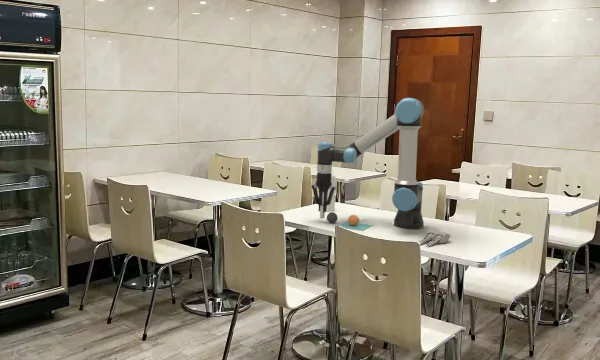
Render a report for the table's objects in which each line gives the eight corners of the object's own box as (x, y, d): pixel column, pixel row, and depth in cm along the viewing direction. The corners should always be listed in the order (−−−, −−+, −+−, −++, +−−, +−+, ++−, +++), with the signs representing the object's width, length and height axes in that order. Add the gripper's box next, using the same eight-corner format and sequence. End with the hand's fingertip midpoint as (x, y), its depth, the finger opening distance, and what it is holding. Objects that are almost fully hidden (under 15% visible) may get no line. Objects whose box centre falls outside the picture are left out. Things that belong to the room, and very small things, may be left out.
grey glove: (412, 249, 265) (412, 239, 264) (434, 235, 280) (434, 226, 278) (432, 253, 259) (432, 243, 258) (453, 239, 273) (453, 230, 272)
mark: (372, 225, 300) (372, 224, 300) (363, 230, 287) (363, 230, 287) (346, 221, 305) (346, 221, 305) (336, 226, 293) (336, 226, 293)
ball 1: (327, 214, 305) (332, 223, 304) (323, 215, 300) (328, 225, 300) (336, 209, 303) (340, 219, 302) (332, 211, 298) (336, 221, 297)
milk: (327, 212, 329) (329, 173, 326) (319, 210, 333) (321, 171, 330) (334, 210, 334) (336, 172, 330) (326, 209, 338) (328, 171, 335)
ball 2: (348, 219, 300) (356, 227, 299) (344, 221, 296) (352, 229, 294) (354, 211, 299) (362, 219, 297) (350, 213, 294) (358, 220, 292)
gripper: (309, 172, 299) (307, 217, 303) (333, 174, 294) (331, 220, 297) (315, 170, 306) (313, 215, 310) (338, 173, 301) (336, 218, 304)
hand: (322, 217), depth 303 cm, fingers closed
